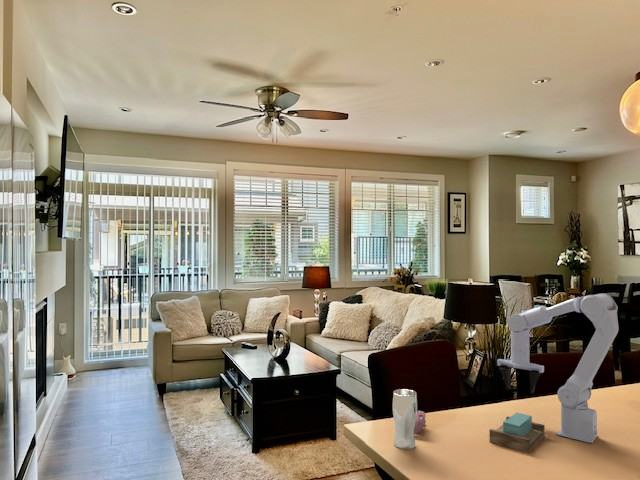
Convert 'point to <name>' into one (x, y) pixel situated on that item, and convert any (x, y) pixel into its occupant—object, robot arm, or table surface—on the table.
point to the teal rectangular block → (518, 424)
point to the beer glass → (404, 417)
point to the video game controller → (420, 422)
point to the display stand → (518, 437)
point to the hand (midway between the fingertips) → (520, 390)
